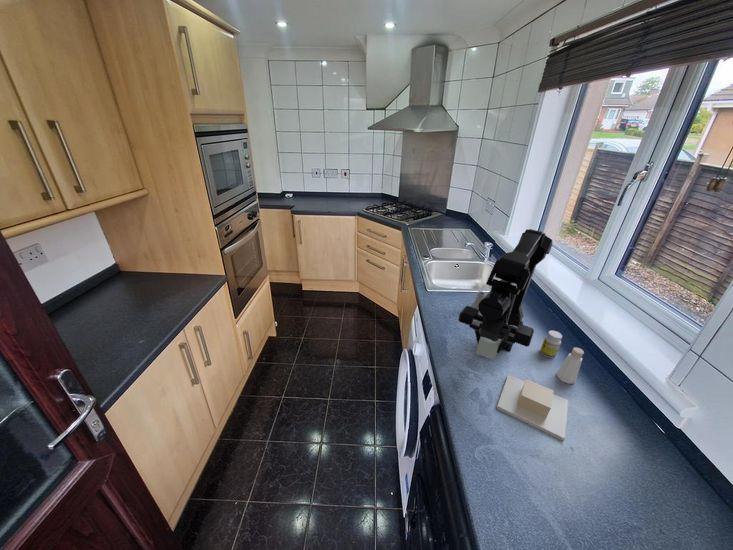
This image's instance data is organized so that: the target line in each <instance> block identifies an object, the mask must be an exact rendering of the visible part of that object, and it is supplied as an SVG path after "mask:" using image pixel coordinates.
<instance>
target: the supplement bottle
mask: <svg viewBox="0 0 733 550" xmlns="http://www.w3.org/2000/svg"><path fill="white" fill-rule="evenodd" d="M562 339H563V335H562V333H560V332H559V331H556V330H549V331H548V333H547V335H546V336H545V337H544V339H543V342H542V344H541V347H540V353H541V354H542V356H543V357H545V358H550V359H554V358H555V357H556V356H557V353H558V351H559V349H560V346H561V345H562Z"/></svg>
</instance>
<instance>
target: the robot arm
mask: <svg viewBox="0 0 733 550" xmlns="http://www.w3.org/2000/svg"><path fill="white" fill-rule="evenodd" d="M552 247H553V239H551V238H550V237H548V236H547V235H546V233H545V232H544V231H539V230H536V229H531V228H529V229H528V228H527V229H526V230H525V231H524V232H522V233H521V236H520V239H519V240H518V244H517V245H516V246H515V248H513V250H512V251H511V252H506V253H504V254H502V255H501V256H500V258H499V259H496V260H495V262H494V264H493V267H492V268H491V269H492V270H491V271H490V274H489V276H488V278H487V280H486V283H485V285H487V286H490V287H491V289H490V291H489V292H487V294H486V295H485V297H484V298H483V299H482V300H481V301H480V303H479V305H478V308H479V310H478V309H476V308H473V307H470V306H471V305H470V306H469V305H466V306H464V308H462V310H461V312H459V316H458V322H460V323H462V324H465V325H467V326H469V328H471V329H472V330H473V331H474V334H475V337H476V343H477V345H478V344H479V340H480V338H481V337H485V338H488V339H490V340H492V341H498V340H499V339H501V343H500V345H499V347H498V350H497V354H499V353H500V352H501V351H502V349H503V350H505V351H507V352H511V350H512V348H513V346H514V345H515V344H517V345H520V346H521V345H522V346H524V347H530V345H531V342H532V339H533V336H534V332H535V330H534V328H533V327H531V326H528V325H525V324H524V321H522V320H523V318H524V312H523V309H522V305H523V302H524V300H525V297H526V295H527V291H528V289H529V287H530V283H531V281H532V278H533V275H534V272H535V270H536V267H537V265H538V264H539V263H541V262H542V261H543V260H544V259H546V256H547V255H549V254H550V252H551V249H552ZM495 278H496V279H495ZM498 279H499V280H498ZM478 312H480V313H481V315H482V316H481V315H478Z"/></svg>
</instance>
